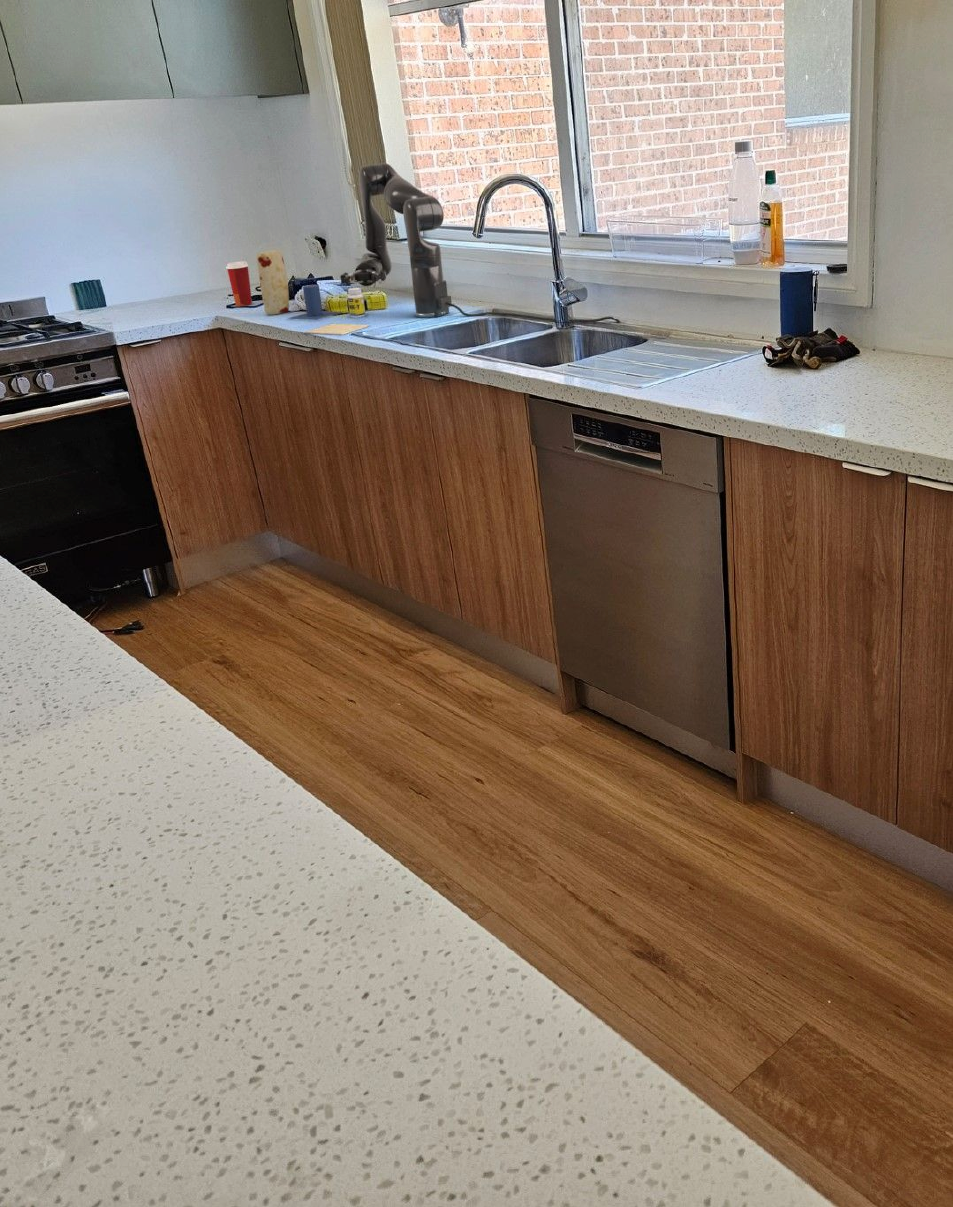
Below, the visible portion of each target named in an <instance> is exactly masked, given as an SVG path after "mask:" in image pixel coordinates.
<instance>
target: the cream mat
mask: <svg viewBox="0 0 953 1207" xmlns="http://www.w3.org/2000/svg"><path fill="white" fill-rule="evenodd" d="M367 327H369V324H354V323H353V324H351V323H329V324H327V325H323V326H321V327H317V328H313V329H310V330H308V331H305V333H306V334H316V335H317V334H318V335H320V334H321V335H338V336H343V335H346V334H349V333H352V332H355V331H358V330H361V329H364V328H367Z"/></svg>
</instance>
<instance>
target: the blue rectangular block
mask: <svg viewBox="0 0 953 1207" xmlns="http://www.w3.org/2000/svg"><path fill="white" fill-rule="evenodd" d="M302 291H303V299H304V305H305V311H306V313H307V316H308V317H315V316H321V315H323V311H324V310H323V305H322V299H321V291H320V285H319V284H307V285H303V286H302Z"/></svg>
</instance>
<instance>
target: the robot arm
mask: <svg viewBox="0 0 953 1207" xmlns="http://www.w3.org/2000/svg"><path fill="white" fill-rule="evenodd" d="M358 184H359V192H360V193H359V194H360V199H361V206H362V212H363V213H362V214H363V218H364V238H365V242H364V243H365V244H364V245H365V249H366V250H367V251H368V252H366V253H363V255H362V256H361V259H360V263H359V264H358V265H357V266H356V268H355V270H354V271H352V272H350V273H348V272H343V273H342V274H341V275H340V283H341V285H346V286H349V285H350V284H353V285H355V284H360V285H361V286H363V287H371V286H372V285H374V284H375V283H377V282H380V281H382V282H384V281H386V279H387V276H389V274H390V273H391V271H392V261H391V256H390V254H389V250H388V247H387V227H386V223H385V221H384V219H383V217H382V216H381V215H380V213H379V211H378V210H377V209H376V208H375V205H374V204H373V200H372V198H373V197H375V196H380V195H383V199H384V201H385V203H386V204H387V206H388V207H389V208H391V209H392V210H393V211H394V212H396V213H398V214H401V215H403V222H404V227H405V233H406V242H407V247H408V252H409V254H408V255H409V262H410V270H411V271H410V273H411V280H412V288H413V289H412V290H413V298H414V299H413V301H414V306H415V307H414V309H415V317H417V318H433V317H434V318H438V317H442V316H445V315H447V314H450V307H453V308H454V309H456V310H458V311H459V312H460V314H461V315H462V316H465V317H481V316H488V315H492V316H494V315H495V316H496V315H497V316H508V317H509V316H510V317H520V318H524V319H525V318H526V319H533V320H540V321H541V320H542V321H549V322H550V321H551V322H557V321H556V319H557V318H556V319H555V318H554V317H545V316H536V315H529V314H521V313H513V312H499V311H487V312H480V313H467V312H465V311H464V310H462V309H461V307H459V306H458V305H457V304H454V303H452V296H451V295H448V286H447V285H448V284H447V280H444V272H443V263H442V262H443V261H442V254H441V253H442V251H441V245H440V244H439V243H436V242H432V241H428V240H427V239H424V238H423V236H422V234H421V232H428V231H435V230H437V229H439V228H440V227H441V226H442V224H443V222H444V218H445V213H444V209H443V206H442V204H441V203H440V201H439V200H438V199H437V198H436V197H434V196H433V195H431V194H427V193H425V192H423V191H422V190H420V189H419V188H418V187H415V185H413V184H412V183H411V182H409V181H408V180H406V179H404V178H403V177H402V176H401V175H399V173H398V172H397V171H396V170H395V169H394V167H393V166H392V165H391V164H389V163H385V162H382V163H381V162H380V163H375V164H366V165H364V166H361V167H360V169H359V172H358ZM613 317H614V316H604V317H599V318H593V319H591V318H589V319H587V318H585V319H584V318H583V319H581V318H580V319H579V318H576V319H575V318H570V319H571V320H569V321H570V322H569V323H597V322H602V321H604V320H605V321H606V320H612V321H615V322H616V323H618V324H622V322H621V320H620V319H619V318H617V319H614V318H613Z"/></svg>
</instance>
